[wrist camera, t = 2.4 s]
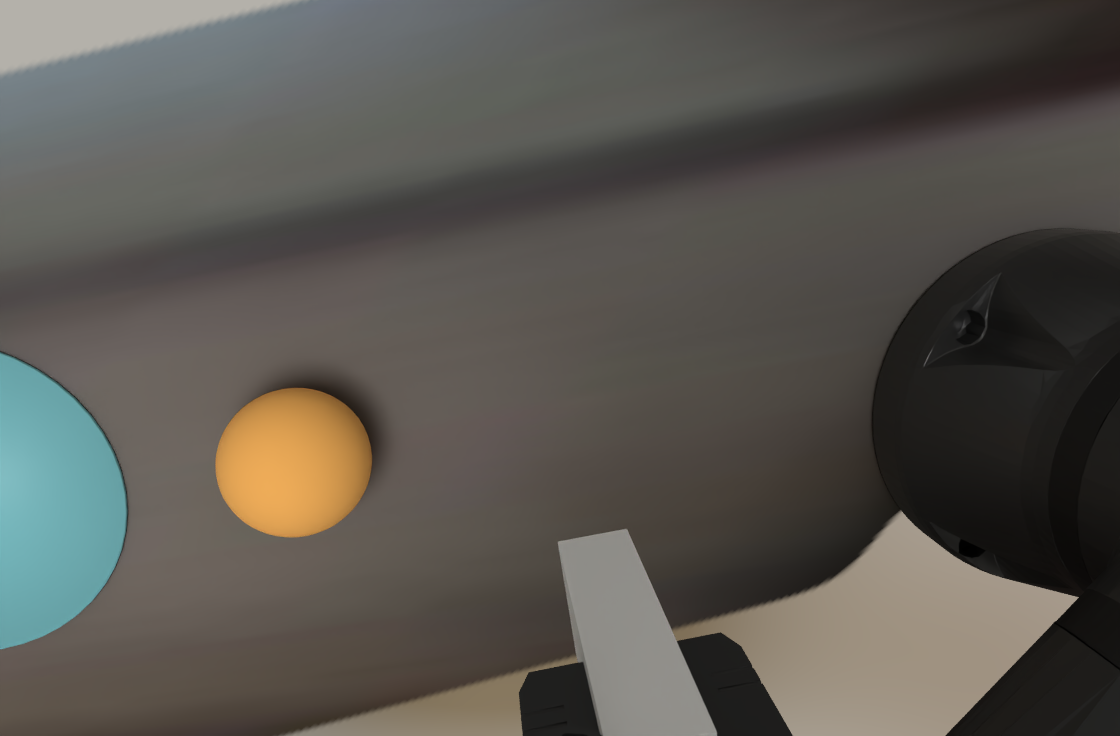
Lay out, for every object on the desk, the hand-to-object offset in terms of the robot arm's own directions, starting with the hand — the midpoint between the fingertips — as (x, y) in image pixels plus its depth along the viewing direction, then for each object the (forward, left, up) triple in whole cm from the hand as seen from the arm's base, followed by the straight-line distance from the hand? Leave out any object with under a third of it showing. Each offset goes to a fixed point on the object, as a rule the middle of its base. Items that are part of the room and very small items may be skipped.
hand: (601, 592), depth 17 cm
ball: (+9, 0, -13) cm, 16 cm away
